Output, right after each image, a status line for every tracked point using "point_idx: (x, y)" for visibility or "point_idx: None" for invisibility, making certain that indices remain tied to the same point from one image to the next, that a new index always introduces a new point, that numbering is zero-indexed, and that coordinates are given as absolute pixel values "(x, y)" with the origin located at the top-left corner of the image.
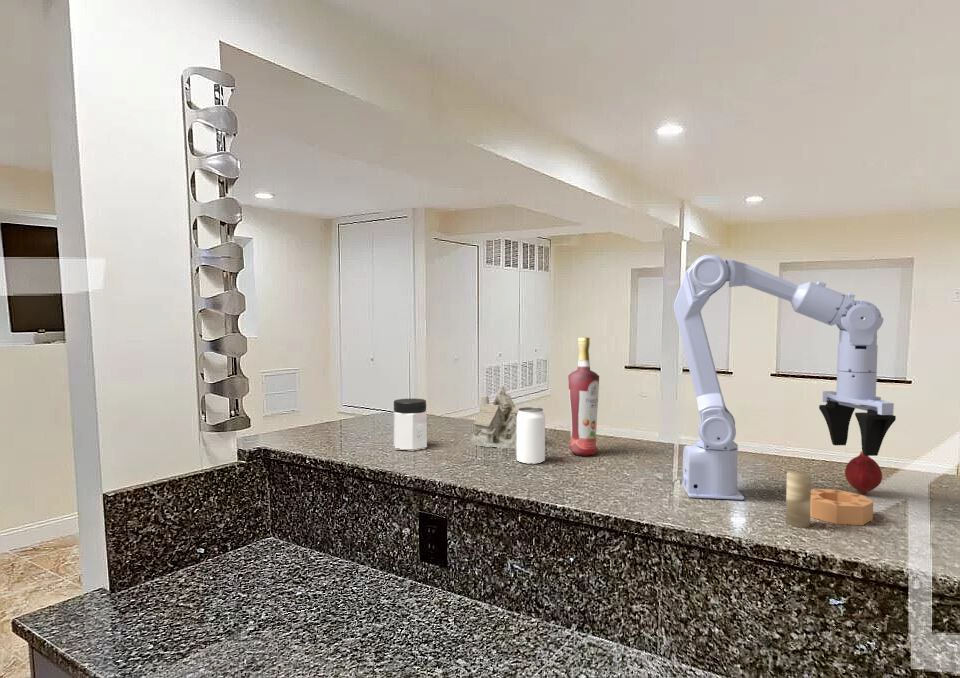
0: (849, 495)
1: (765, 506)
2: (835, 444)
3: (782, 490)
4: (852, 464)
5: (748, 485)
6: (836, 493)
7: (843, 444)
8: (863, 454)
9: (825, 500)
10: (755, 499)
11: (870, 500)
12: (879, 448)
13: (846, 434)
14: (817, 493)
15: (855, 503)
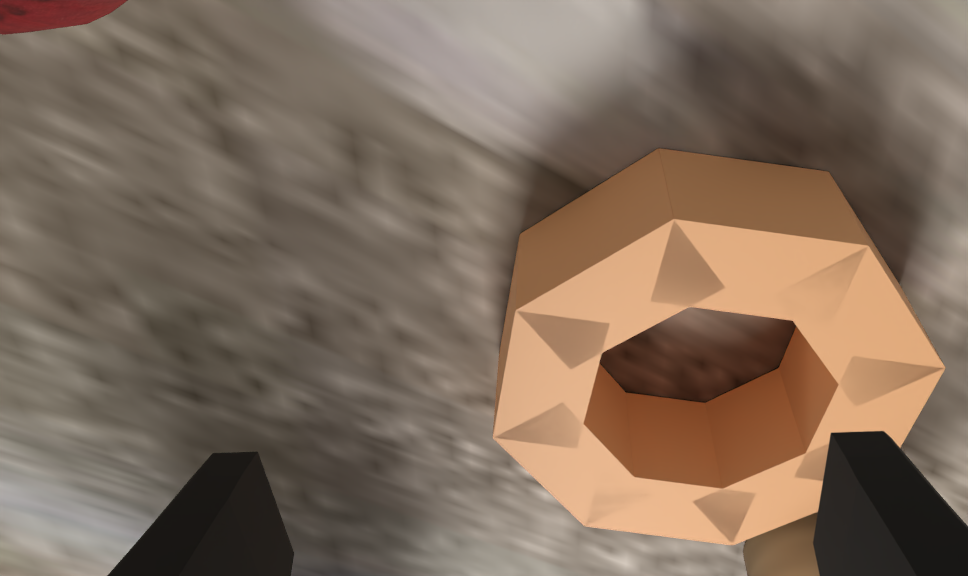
0: (673, 310)
1: (515, 559)
2: (291, 559)
3: (171, 371)
4: (10, 25)
5: (106, 490)
6: (598, 352)
7: (265, 484)
8: (817, 546)
9: (766, 496)
10: (393, 554)
11: (823, 239)
12: (938, 498)
13: (196, 570)
14: (609, 468)
15: (865, 373)
